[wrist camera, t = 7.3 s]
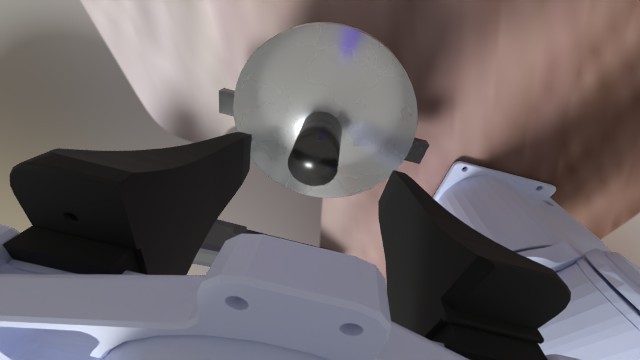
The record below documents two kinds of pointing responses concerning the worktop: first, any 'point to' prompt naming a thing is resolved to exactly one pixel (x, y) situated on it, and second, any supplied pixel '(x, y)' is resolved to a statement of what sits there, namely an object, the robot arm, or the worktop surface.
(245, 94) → the lid
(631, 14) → the worktop surface
